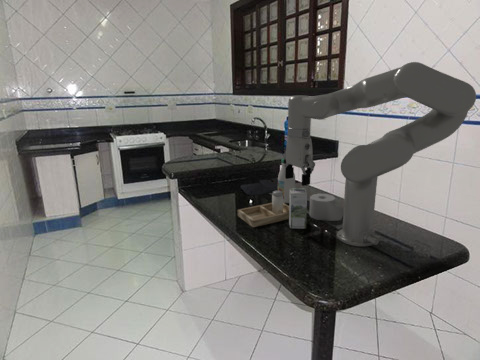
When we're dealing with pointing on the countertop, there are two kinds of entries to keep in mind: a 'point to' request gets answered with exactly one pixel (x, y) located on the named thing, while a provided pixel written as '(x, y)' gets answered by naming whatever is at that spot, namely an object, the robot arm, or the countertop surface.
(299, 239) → the countertop surface
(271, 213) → the caddy
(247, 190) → the dark slate chunk
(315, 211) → the toilet tissue
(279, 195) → the shaker
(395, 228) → the countertop surface
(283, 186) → the milk bottle
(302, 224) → the syrup box
